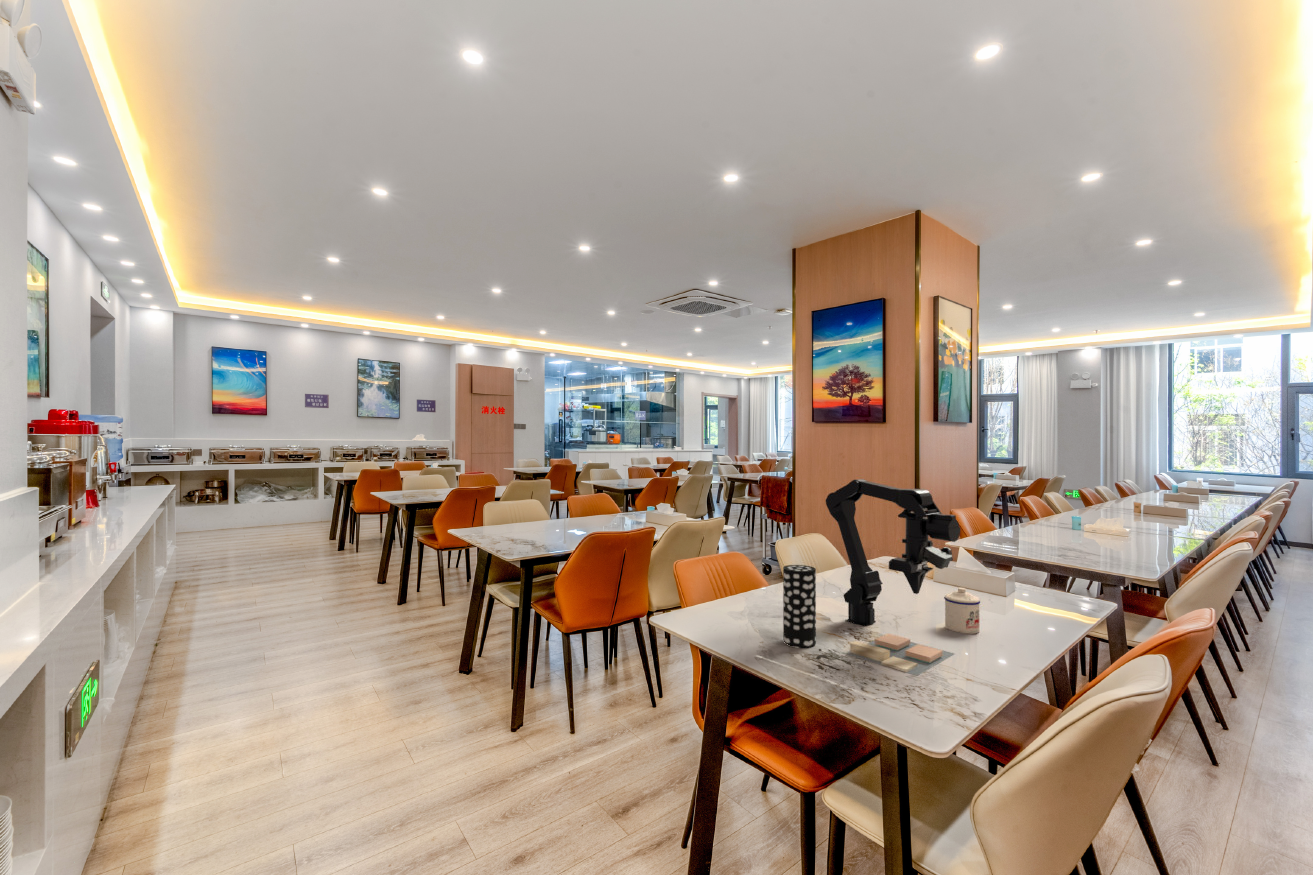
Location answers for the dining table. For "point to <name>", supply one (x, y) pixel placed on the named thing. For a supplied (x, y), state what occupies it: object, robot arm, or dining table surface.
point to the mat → (901, 654)
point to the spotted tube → (799, 606)
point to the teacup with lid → (962, 612)
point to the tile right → (924, 653)
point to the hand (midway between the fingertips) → (916, 593)
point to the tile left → (892, 642)
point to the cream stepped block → (881, 656)
